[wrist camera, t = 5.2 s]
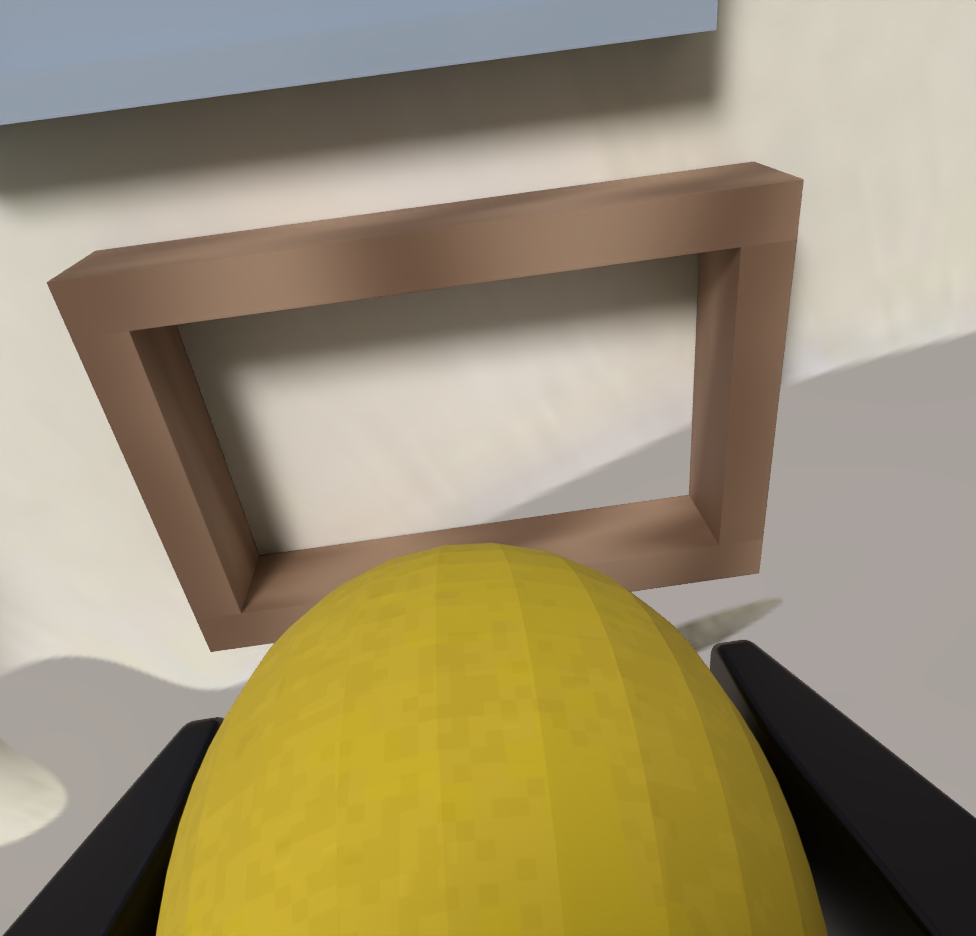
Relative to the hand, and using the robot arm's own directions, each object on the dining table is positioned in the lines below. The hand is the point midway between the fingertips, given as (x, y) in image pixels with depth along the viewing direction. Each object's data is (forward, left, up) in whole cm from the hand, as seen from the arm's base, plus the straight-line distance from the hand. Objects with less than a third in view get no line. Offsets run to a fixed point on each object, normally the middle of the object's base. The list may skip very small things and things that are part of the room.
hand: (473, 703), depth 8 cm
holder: (0, +2, -12) cm, 12 cm away
